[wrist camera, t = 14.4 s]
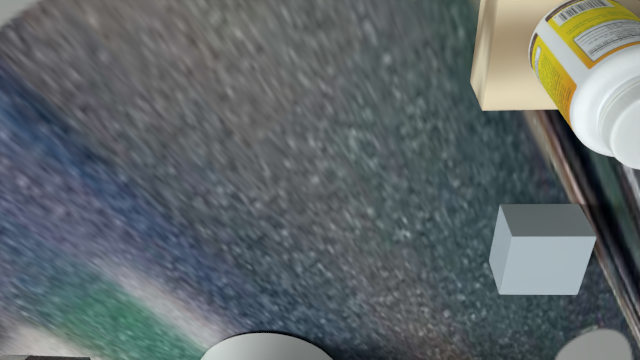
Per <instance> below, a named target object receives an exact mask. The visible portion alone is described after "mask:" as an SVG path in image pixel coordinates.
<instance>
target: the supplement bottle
mask: <svg viewBox="0 0 640 360" xmlns="http://www.w3.org/2000/svg"><path fill="white" fill-rule="evenodd" d="M529 62H530V66H531V68H532V70H533V72H534V74H535V76H536V77H537V79H538V80H539V82H540V83H541V84H542V86H543V87H544V89H545V90H546V92H547V93H548V95H549V96H550V98H551V99H552V101H553V102H554V103H555V105H556V106H557V108H558V109H559V111H560V112H561V114H562V115H563V117H564V118H565V120H566V121H567V122H568V124H569V125H570V127H571V128H572V130H573V131H574V133H575V134H576V136H577V137H578V138H579V140H580V141H581V142H582V143H583V144H584V145H585V146H587V147H588V148H590V149H591V150H593V151H595V152H597V153H600V154H603V155H607V156H613V157H616V159H617V160H618V161H620V162H621V163H623V164H624V165H626V166H628V167H631V168H634V169H640V19H639V18H638V17H637V16H636V15H634V14H633V13H632V12H630V11H629V10H628V9H626V8H625V7H624V6H623V5H621V4H620V3H618V2H617V1H615V0H566V1H564V2H562V3H560V4H559V5H557V6H556V7H554V8H553V9H552V10H550V11H549V12H548V13H547V14H546V15H545V16H544V17H543V18H542V20H541V21H540V22H539V24H538V25H537V27H536V28H535V30H534V32H533V34H532V37H531V40H530V44H529Z"/></svg>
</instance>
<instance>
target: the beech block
mask: <svg viewBox="0 0 640 360" xmlns="http://www.w3.org/2000/svg"><path fill="white" fill-rule="evenodd" d="M564 1H566V0H481V3H480V11H479V19H478V27H477V34H476V42H475V50H474V58H473V66H472V73H471V81H470V82H471V85H472V87H473V89H474V92H475V94H476V96H477V99H478V101H479V103H480V106H481V108H482V110H539V109H558V108H557V106H556V105H555V103H554V102H553V101H552V99H551V98H550V96H549V95H548V93H547V92H546V90H545V89H544V87H543V86H542V84H541V83H540V82H539V80H538V79H537V77H536V76H535V74H534V72H533V70H532V68H531V66H530V62H529V44H530V40H531V37H532V34H533V32H534V30H535V28H536V27H537V25H538V24H539V22H540V21H541V20H542V18H543V17H544V16H545V15H546V14H547V13H548V12H549V11H550V10H552V9H553V8H554V7H556V6H557V5H559V4H560V3H562V2H564ZM615 1H617V2H618V3H620V4H621V5H623V6H624V7H625V8H626V9H628V10H629V11H630V12H632V13H633V14H634V15H636V16H637V17H638V18H639V19H640V0H615Z"/></svg>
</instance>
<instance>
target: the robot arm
mask: <svg viewBox="0 0 640 360" xmlns="http://www.w3.org/2000/svg"><path fill="white" fill-rule="evenodd" d="M0 360H91V359H90V357H62V356H33V355H1V356H0ZM201 360H333V359H332V358H331V357H329V356H328V355H327V354H326V353H325V352H324V351H322V350H321V349H319V348H318V347H316V346H314V345H312V344H310V343H308V342H306V341H303V340H301V339H298V338H294V337H291V336H286V335H280V334H272V333H253V334H245V335H239V336H235V337H232V338H229V339H226V340H224V341H222V342H220V343H218V344H216V345H215V346H213V347H212V348H211V349H209V350H208V351H207V352H206V353H205V355H204V356H203V357H202V359H201Z"/></svg>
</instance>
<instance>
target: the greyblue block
mask: <svg viewBox="0 0 640 360" xmlns="http://www.w3.org/2000/svg"><path fill="white" fill-rule="evenodd" d="M596 238H597V236H596V234H595V232H594V230H593V229H592V227H591V225H590V223H589V221H588V220H587V218H586V216H585V214H584V212H583V211H582V209H581V207H580V205H579V204H500V207H499V213H498V218H497V223H496V228H495V233H494V238H493V243H492V248H491V253H490V259H489V262H490V265H491V269H492V272H493V275H494V278H495V282H496V285H497V288H498V292H499V294H536V295H577V294H578V291H579V288H580V285H581V282H582V279H583V276H584V273H585V270H586V267H587V264H588V261H589V258H590V255H591V252H592V250H593V247H594V244H595V241H596Z"/></svg>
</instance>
